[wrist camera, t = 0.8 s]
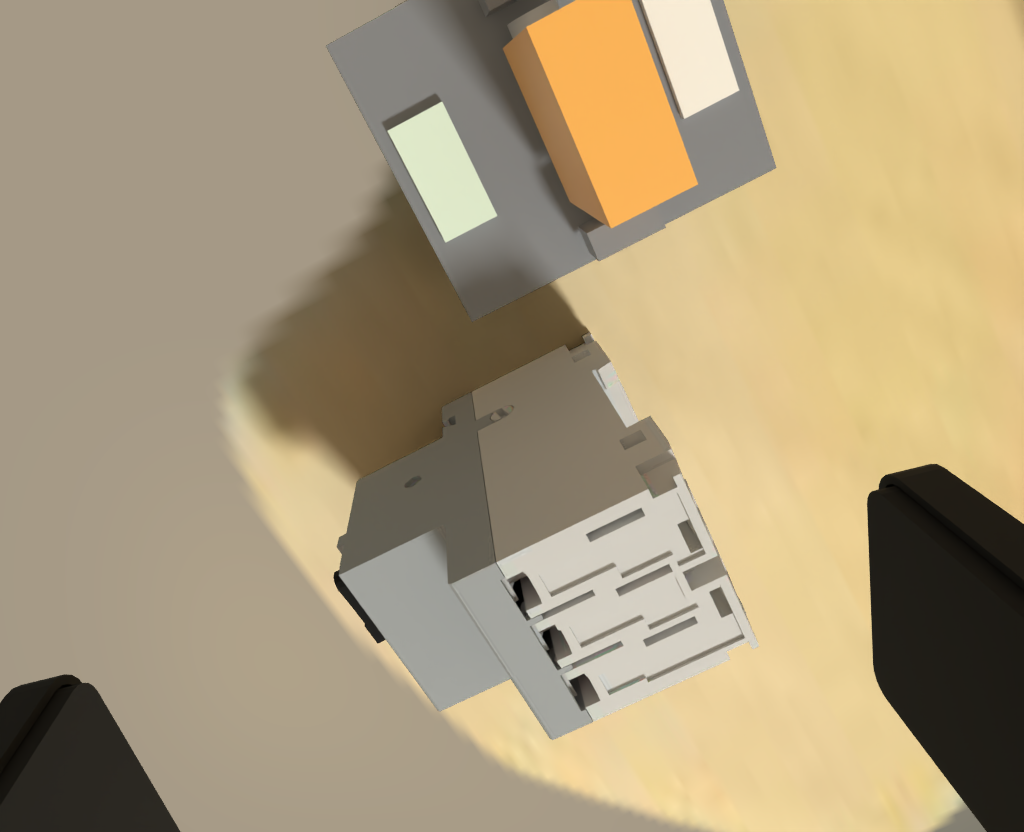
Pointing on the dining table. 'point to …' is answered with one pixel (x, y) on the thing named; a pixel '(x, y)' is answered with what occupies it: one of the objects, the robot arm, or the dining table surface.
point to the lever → (599, 107)
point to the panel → (532, 136)
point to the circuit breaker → (542, 550)
